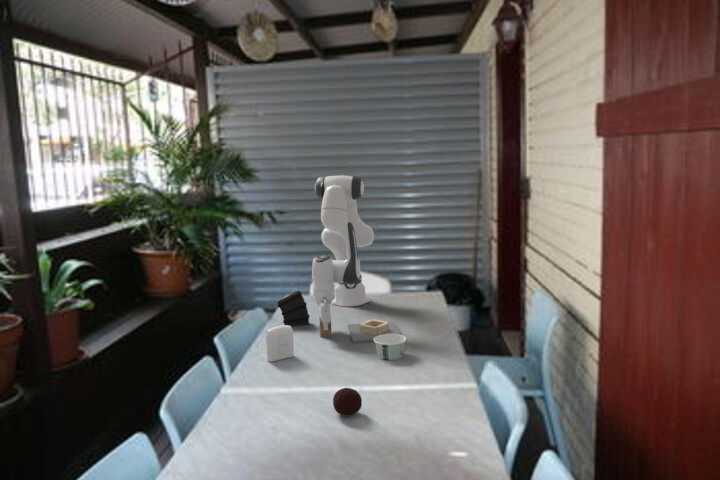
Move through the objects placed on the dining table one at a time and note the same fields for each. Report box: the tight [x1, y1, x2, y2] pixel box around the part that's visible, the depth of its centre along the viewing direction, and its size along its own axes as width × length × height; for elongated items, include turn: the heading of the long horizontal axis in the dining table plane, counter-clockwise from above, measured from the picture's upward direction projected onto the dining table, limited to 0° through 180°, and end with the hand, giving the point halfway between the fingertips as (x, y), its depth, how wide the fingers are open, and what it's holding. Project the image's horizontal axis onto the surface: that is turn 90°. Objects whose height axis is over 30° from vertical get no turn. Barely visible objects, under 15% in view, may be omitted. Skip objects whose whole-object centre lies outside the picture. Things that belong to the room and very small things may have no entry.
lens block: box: [319, 316, 333, 338], centre depth 242 cm, size 4×4×7 cm
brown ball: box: [332, 387, 363, 417], centre depth 168 cm, size 8×9×8 cm
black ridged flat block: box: [276, 290, 310, 327], centre depth 258 cm, size 4×13×15 cm, turn 92°
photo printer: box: [265, 324, 295, 362], centre depth 216 cm, size 10×4×12 cm, turn 123°
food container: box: [373, 334, 407, 361], centre depth 214 cm, size 12×12×6 cm
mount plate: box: [347, 318, 403, 344], centre depth 242 cm, size 22×20×4 cm
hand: (325, 327), depth 242 cm, fingers closed on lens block, 4 cm apart
